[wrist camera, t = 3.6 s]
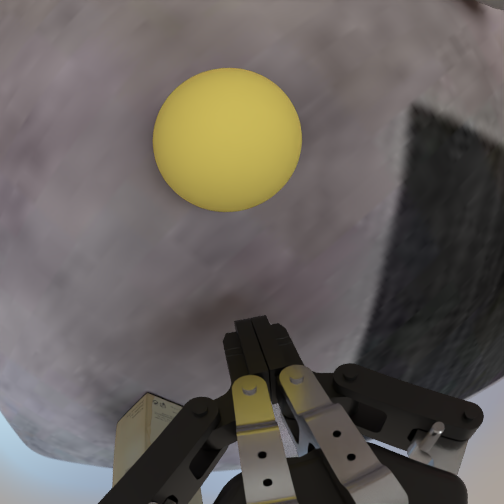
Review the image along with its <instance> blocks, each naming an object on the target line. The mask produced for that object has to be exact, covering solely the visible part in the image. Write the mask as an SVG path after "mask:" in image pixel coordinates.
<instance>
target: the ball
mask: <svg viewBox="0 0 504 504" xmlns="http://www.w3.org/2000/svg"><path fill="white" fill-rule="evenodd" d="M301 145H302V132H301V125H300V121H299V118H298V115H297V112H296V110H295V108H294V106H293V104H292V103H291V101H290V99H289V98H288V97H287V95H286V94H285V93H284V92H283V91H282V90H281V89H280V88H279V87H278V86H277V85H276V84H275V83H273V82H272V81H270V80H269V79H267V78H265V77H264V76H262V75H260V74H257V73H255V72H252V71H248V70H244V69H237V68H220V69H214V70H209V71H206V72H202V73H200V74H197V75H195V76H193V77H191V78H189V79H188V80H186V81H185V82H183V83H182V84H181V85H180V86H178V87H177V88H176V89H175V90H174V91H173V92H172V93H171V94H170V95H169V97H168V98H167V99H166V101H165V102H164V104H163V105H162V107H161V109H160V111H159V113H158V116H157V119H156V122H155V126H154V131H153V151H154V156H155V160H156V163H157V166H158V169H159V171H160V173H161V174H162V176H163V178H164V180H165V181H166V182H167V184H168V185H169V186H170V187H171V188H172V189H173V190H174V191H175V192H176V193H177V194H178V195H179V196H181V197H182V198H183V199H185V200H186V201H188V202H190V203H191V204H193V205H196V206H198V207H200V208H203V209H207V210H211V211H218V212H234V211H241V210H245V209H249V208H252V207H255V206H257V205H259V204H261V203H263V202H265V201H267V200H268V199H270V198H271V197H273V196H274V195H275V194H276V193H277V192H278V191H280V190H281V189H282V187H283V186H284V185H285V184H286V183H287V181H288V180H289V179H290V177H291V176H292V174H293V172H294V170H295V168H296V166H297V163H298V160H299V157H300V153H301Z"/></svg>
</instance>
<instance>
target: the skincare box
mask: <svg viewBox="0 0 504 504" xmlns="http://www.w3.org/2000/svg"><path fill="white" fill-rule="evenodd" d="M182 408H183V407H181V406H178V405H176V404H173V403H171V402H168V401H166V400H163V399H161V398H159V397H156V396H153V395H151V394H149V393H147V394H146V395H145V396H144V397H143V398H142V399H140V400H139V401H138V402H137V403H136V404H135V405H134V406H133V407H132V408H131V409H130V410H129V411H128V412H127V413H126V414H125V415H124V417H123V418H122V419H121V420H120V421H119V422H118V423H117V429H116V439H115V450H114V464H113V486H112V488H113V487H114V486H115V485H116V483H117V482H118V481H119V480H120V479H121V478H122V477H123V476H124V475H125V474H126V472H127V471H128V470H129V469H130V468H131V467H132V466H133V465H134V464H135V462H136V461H137V460H138V459H139V458H140V457H141V456H142V454H143V453H144V452H145V451H146V450H147V449H148V448H149V446H150V445H151V444H152V443H153V442H154V441H155V440H156V438H157V437H158V436H159V435H160V434H161V433H162V431H163V430H164V429H165V428H166V427H167V426H168V424H169V423H170V422H171V421H172V420H173V418H174V417H175V416H176V415H177V414H178V412H179V411H180V410H181V409H182ZM188 504H203V502H202V495H201V488H199V490H198V491H197V492H196V494H195V495H194V496H193V498H192V499H191V501H190V502H189V503H188Z"/></svg>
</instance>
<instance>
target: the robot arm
mask: <svg viewBox="0 0 504 504" xmlns="http://www.w3.org/2000/svg"><path fill="white" fill-rule="evenodd" d="M234 322H235V329H236V332H232V333H226V334H225V337H224V340H223V345H224V350H225V355H226V360H227V365H228V369H229V374H230V378H231V387H230V389H229V390H228V392H227V393H226V394H224V395H223V396H221V397H219V398H217V399H215V400H212V399H210V398H207V397H197V398H193V399H191V400H190V401H188V402H187V403H186V404H185V405H184V406H183V408H182V409H181V410H180V411H179V412H178V414H177V415H176V416H175V417H174V418H173V420H172V421H171V422H170V423H169V424H168V426H167V427H166V428H165V429H164V430H163V431H162V433H161V434H160V435H159V436H158V437H157V438H156V440H155V441H154V442H153V443H152V444H151V445H150V446H149V448H148V449H147V450H146V451H145V452H144V453H143V454H142V456H141V457H140V458H139V459H138V460H137V461H136V462H135V464H134V465H133V466H132V467H131V468H130V469H129V470H128V471H127V472H126V474H125V475H124V476H123V477H122V478H121V479H120V480H119V481H118V482H117V483H116V485H115V486H114V487H113V488H112V489H111V490H110V491H109V492H108V493H107V494H106V495H105V496H104V498H103V499H102V500H101V501H100V502H99V503H98V504H188V503H189V502H190V501H191V499H192V498H193V496H194V495H195V494H196V492H197V491H198V490H199V488H200V487H201V486H202V484H203V482H204V481H205V480H206V478H207V477H208V476H209V474H210V473H211V472H212V470H213V469H214V467H215V466H216V464H217V463H218V461H219V460H220V459H221V457H222V456H223V454H224V453H225V451H226V450H227V448H228V445H229V444H231V443H234V442H236V441H238V448H239V456H240V463H241V470H242V472H241V473H240V474H238V475H236V476H235V477H233V478H232V479H231V480H230V481H229V482H228V483H227V484H226V485H225V486H224V487H223V489H222V490H221V492H220V494H219V495H218V497H217V498H216V500H215V502H214V503H213V504H468V501H467V499H468V494H467V489H466V486H465V484H464V482H463V481H462V480H461V479H460V478H459V477H458V476H457V474H458V471H459V468H460V465H461V462H462V459H463V456H464V453H465V449H466V446H467V442H468V440H469V439H470V438H471V436H472V435H473V434H474V433H475V431H476V430H477V429H478V428H479V426H480V425H481V424H482V422H483V418H484V415H483V411H482V409H481V408H480V407H479V406H478V405H476V404H475V403H472V402H468V401H465V400H462V399H458V398H455V397H451V396H448V395H445V394H442V393H438V392H435V391H432V390H429V389H426V388H422V387H419V386H416V385H413V384H410V383H407V382H404V381H401V380H398V379H395V378H393V377H390V376H387V375H384V374H381V373H378V372H376V371H373V370H370V369H367V368H365V367H362V366H359V365H356V364H350V363H349V364H343V365H341V366H339V367H338V368H337V369H336V370H335V371H334V373H316V372H313V371H311V370H310V369H309V368H308V367H306V366H304V364H303V362H302V360H301V358H300V356H299V354H298V352H297V350H296V348H295V346H294V344H293V343H292V340H291V338H290V337H289V334H288V332H287V330H286V329H285V328H284V327H283V326H281V325H280V324H279V323H276V324H272V325H270V324H269V322H268V319H267V317H266V315H264V316H258V317H253V318H249V319H243V320H238V321H234ZM271 402H272V404H276V403H278V404H279V406H280V409H281V418H282V420H283V422H284V424H285V426H286V428H287V430H288V433H289V435H290V437H291V439H292V441H293V443H294V445H295V447H296V450H297V453H298V457H292V458H286V455H285V451H284V447H283V443H282V439H281V435H280V431H279V427H278V424H277V422H276V421H275V417H274V413H273V409H272V405H271ZM361 434H362V435H365V436H367V437H370V438H372V439H375V440H378V441H381V442H383V443H386V444H389V445H391V446H394V447H396V448H399V449H402V450H405V451H407V454H408V456H409V458H408V457H405V456H403V455H400V454H398V453H395V452H393V451H390V450H388V449H385V448H383V447H381V446H378V445H376V444H373V443H369V442H366V441H365V439H364V438H363V437H362V435H361Z"/></svg>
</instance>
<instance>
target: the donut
mask: <svg viewBox="0 0 504 504" xmlns="http://www.w3.org/2000/svg"><path fill="white" fill-rule="evenodd" d="M476 1H478V2H480V3H482V4H485V5H488V6H490V7H493V8H496V9H500V10H504V0H476Z"/></svg>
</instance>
